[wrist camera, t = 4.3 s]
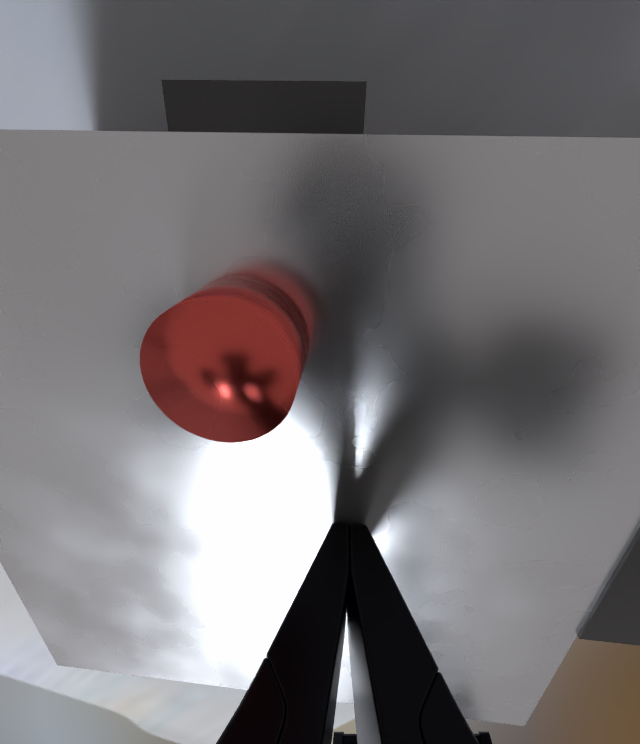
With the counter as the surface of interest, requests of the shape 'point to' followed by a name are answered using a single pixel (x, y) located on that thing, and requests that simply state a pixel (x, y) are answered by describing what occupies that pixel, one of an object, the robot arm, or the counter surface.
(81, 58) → the counter surface
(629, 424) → the grey box lid
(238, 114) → the dark grey flat box
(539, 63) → the counter surface
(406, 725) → the robot arm
